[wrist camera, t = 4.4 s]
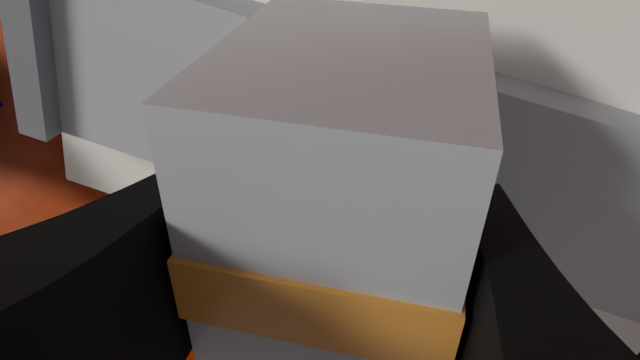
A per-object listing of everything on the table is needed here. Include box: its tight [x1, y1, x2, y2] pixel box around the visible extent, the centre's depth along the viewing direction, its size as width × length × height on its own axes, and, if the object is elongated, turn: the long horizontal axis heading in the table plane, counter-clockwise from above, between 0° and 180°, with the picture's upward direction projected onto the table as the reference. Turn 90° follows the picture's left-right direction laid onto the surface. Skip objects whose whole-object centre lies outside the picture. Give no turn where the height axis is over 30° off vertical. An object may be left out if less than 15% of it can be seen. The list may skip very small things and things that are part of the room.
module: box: [141, 0, 503, 360], centre depth 9 cm, size 4×6×5 cm
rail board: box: [0, 0, 640, 355], centre depth 12 cm, size 18×10×2 cm, turn 77°
